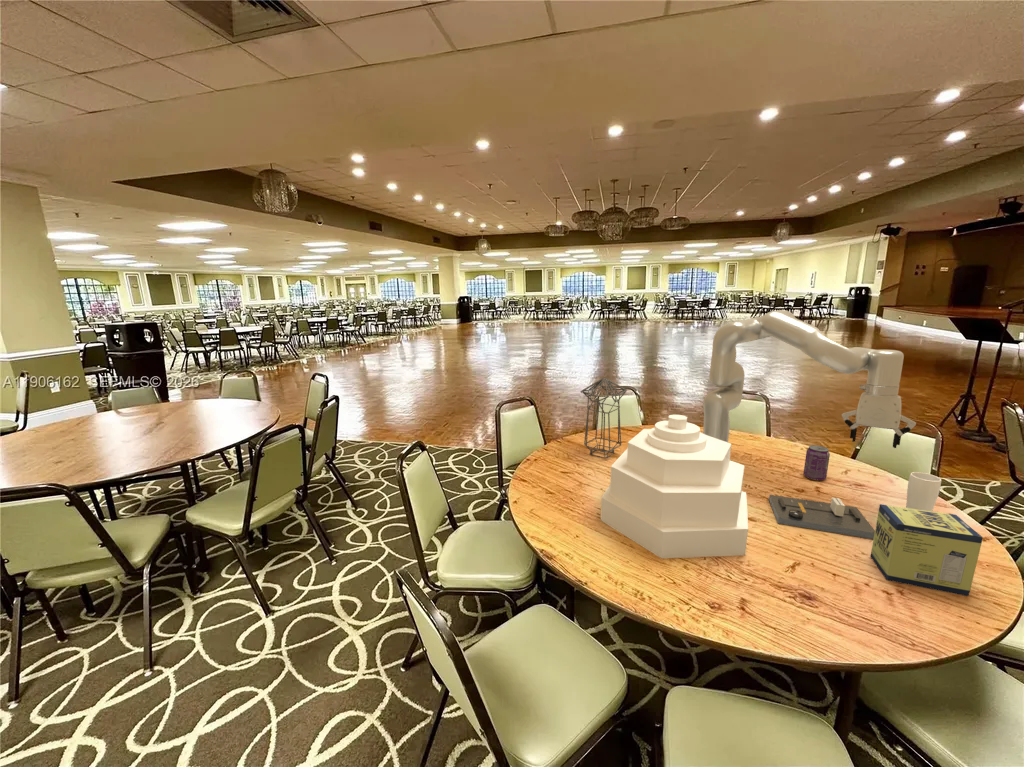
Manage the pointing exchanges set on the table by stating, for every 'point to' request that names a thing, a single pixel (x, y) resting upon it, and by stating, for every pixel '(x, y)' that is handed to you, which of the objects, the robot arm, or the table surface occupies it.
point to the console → (820, 517)
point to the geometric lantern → (596, 385)
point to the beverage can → (816, 462)
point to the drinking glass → (922, 491)
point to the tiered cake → (678, 493)
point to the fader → (837, 506)
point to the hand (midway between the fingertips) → (873, 443)
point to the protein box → (925, 549)
